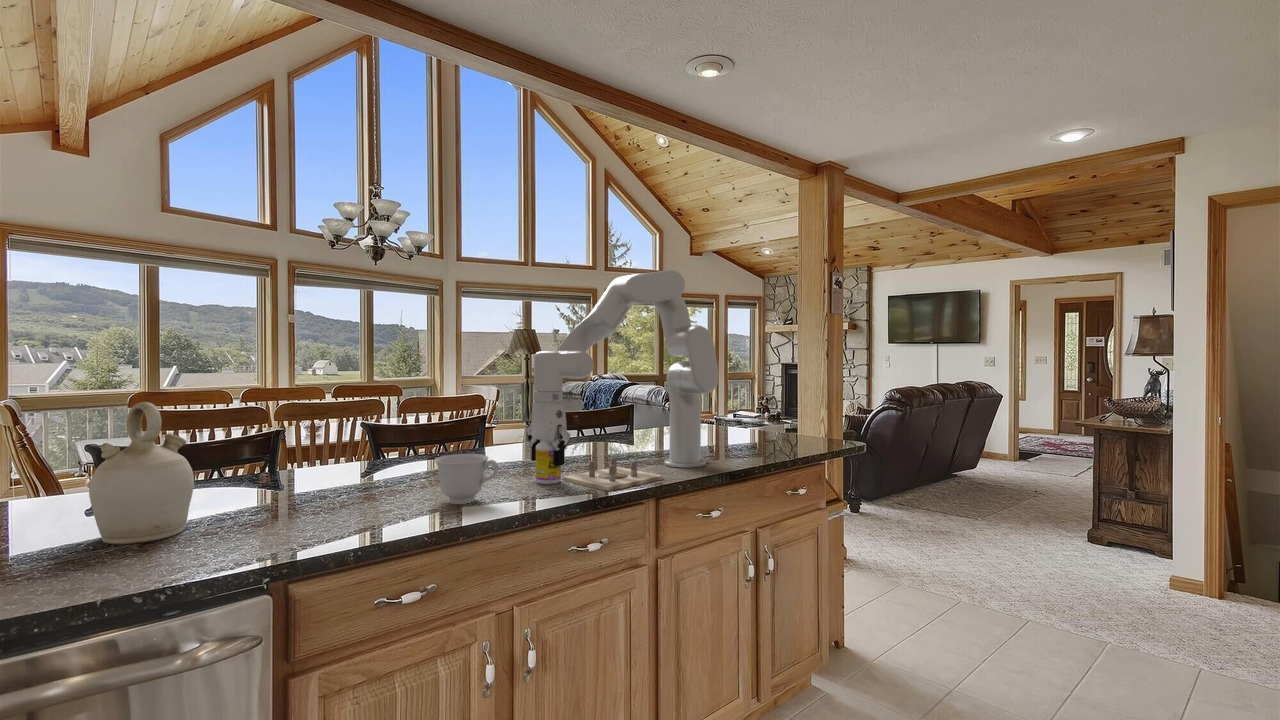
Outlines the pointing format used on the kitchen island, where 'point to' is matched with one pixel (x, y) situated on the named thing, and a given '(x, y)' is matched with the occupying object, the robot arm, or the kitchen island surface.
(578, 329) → the robot arm
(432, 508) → the kitchen island surface
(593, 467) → the holder
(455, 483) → the teacup
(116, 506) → the jug
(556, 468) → the supplement bottle
